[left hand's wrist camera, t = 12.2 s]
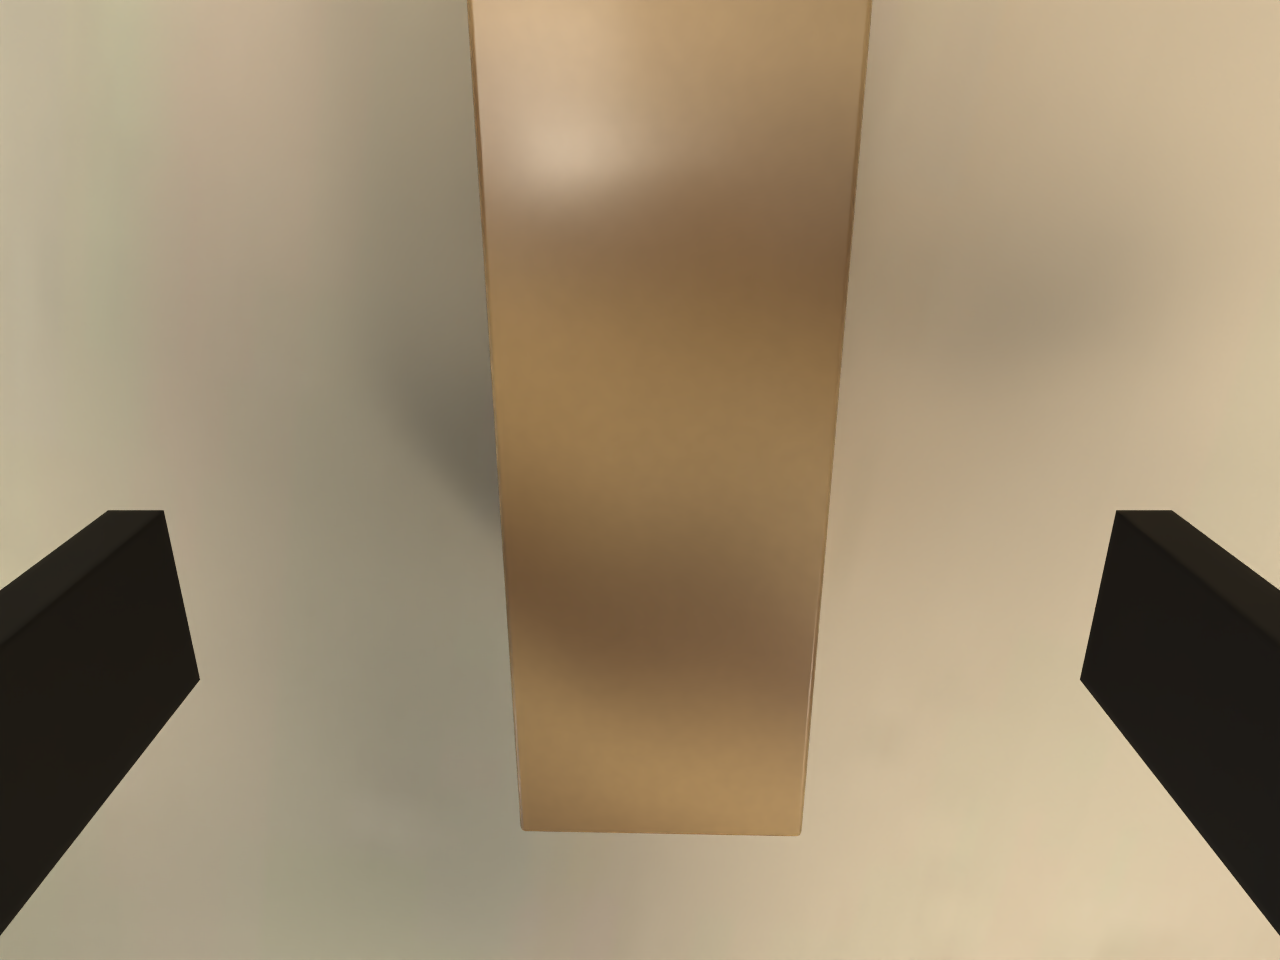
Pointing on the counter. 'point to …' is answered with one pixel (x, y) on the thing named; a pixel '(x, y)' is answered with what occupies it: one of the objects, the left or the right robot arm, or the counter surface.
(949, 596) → the counter surface
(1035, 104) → the counter surface
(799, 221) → the post
